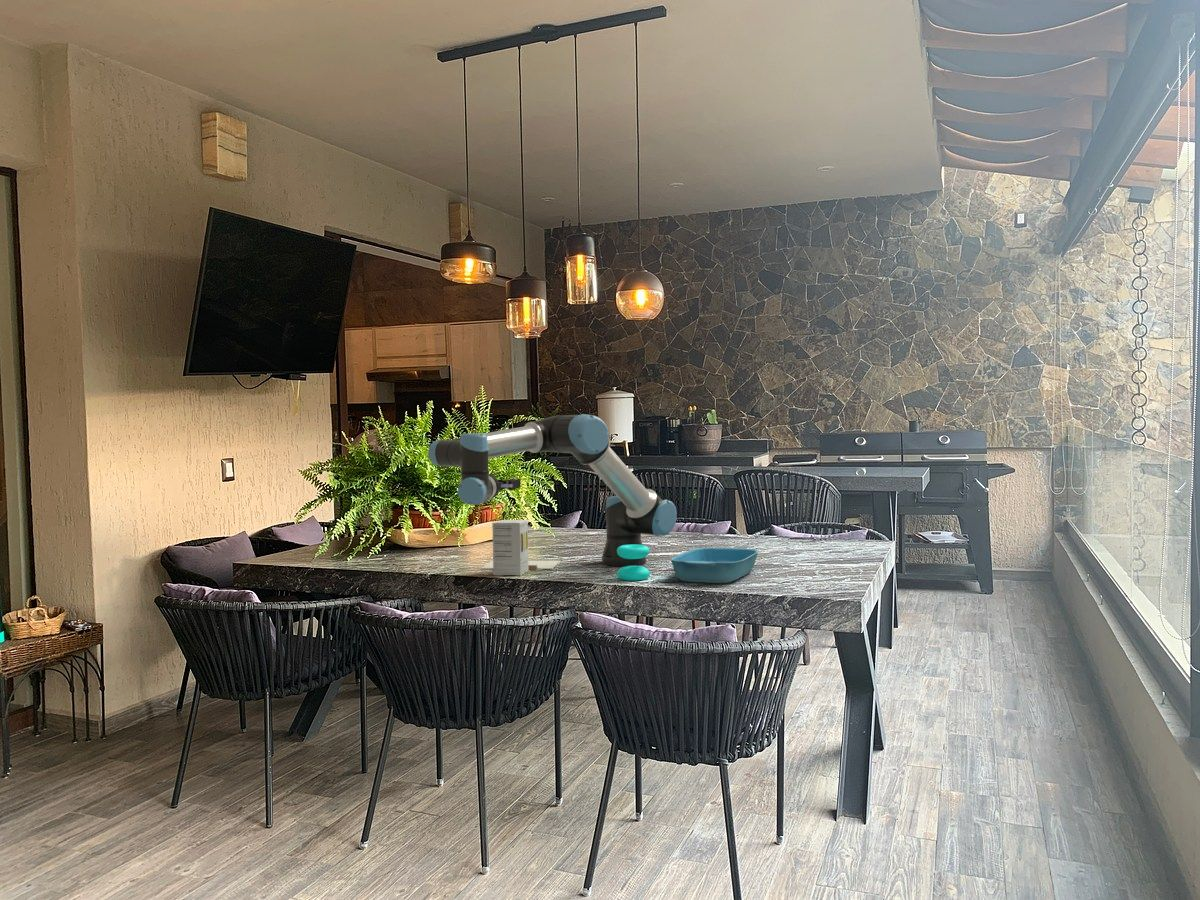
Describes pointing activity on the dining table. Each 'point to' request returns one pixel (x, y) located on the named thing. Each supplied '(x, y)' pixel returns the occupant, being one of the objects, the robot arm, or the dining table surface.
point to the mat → (531, 565)
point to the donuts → (633, 571)
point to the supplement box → (510, 547)
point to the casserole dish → (714, 564)
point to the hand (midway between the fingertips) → (502, 481)
